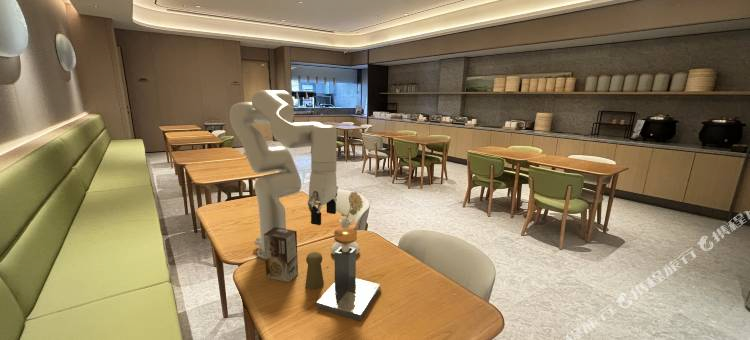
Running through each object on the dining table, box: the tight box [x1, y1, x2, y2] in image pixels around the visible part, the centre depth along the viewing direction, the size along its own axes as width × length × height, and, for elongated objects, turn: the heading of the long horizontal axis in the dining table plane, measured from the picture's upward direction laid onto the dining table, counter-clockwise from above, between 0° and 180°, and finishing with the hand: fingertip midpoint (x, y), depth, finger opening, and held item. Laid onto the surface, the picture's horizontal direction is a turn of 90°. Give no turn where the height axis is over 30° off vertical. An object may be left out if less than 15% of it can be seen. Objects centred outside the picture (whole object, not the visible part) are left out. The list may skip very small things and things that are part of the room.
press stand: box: [316, 246, 382, 322], centre depth 97 cm, size 14×16×14 cm
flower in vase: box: [330, 191, 364, 255], centre depth 124 cm, size 13×11×25 cm
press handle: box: [333, 227, 358, 254], centre depth 100 cm, size 7×7×13 cm
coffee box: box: [264, 227, 299, 283], centre depth 108 cm, size 9×6×16 cm
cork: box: [305, 251, 325, 291], centre depth 104 cm, size 6×6×11 cm
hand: (324, 218), depth 100 cm, fingers open, 9 cm apart
